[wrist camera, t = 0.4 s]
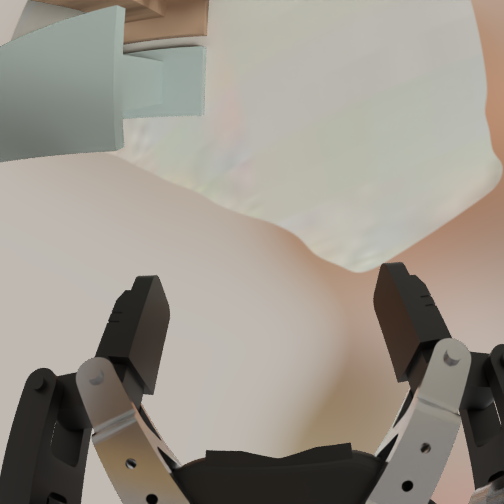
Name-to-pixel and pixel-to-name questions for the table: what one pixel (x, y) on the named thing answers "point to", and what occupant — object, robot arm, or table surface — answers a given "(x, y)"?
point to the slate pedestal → (89, 86)
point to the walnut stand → (151, 17)
